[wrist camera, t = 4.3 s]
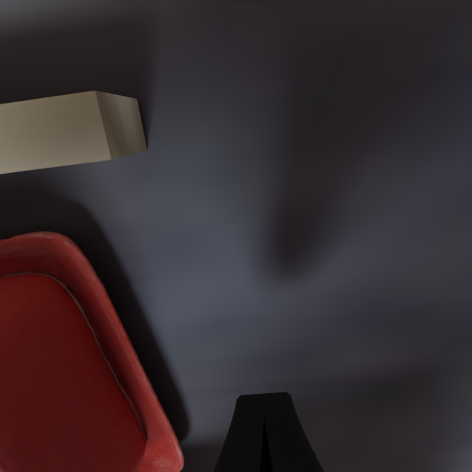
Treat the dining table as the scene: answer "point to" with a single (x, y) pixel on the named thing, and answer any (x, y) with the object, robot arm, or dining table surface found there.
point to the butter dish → (71, 370)
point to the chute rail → (68, 130)
